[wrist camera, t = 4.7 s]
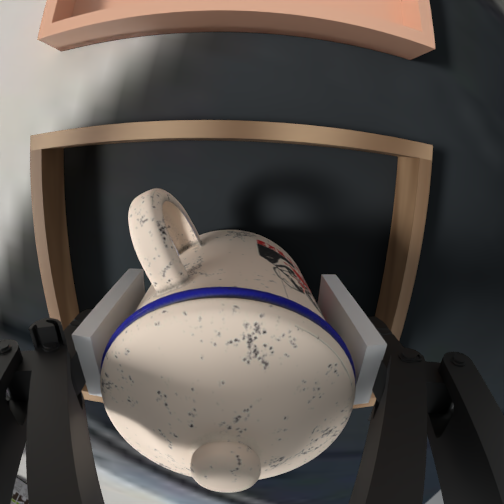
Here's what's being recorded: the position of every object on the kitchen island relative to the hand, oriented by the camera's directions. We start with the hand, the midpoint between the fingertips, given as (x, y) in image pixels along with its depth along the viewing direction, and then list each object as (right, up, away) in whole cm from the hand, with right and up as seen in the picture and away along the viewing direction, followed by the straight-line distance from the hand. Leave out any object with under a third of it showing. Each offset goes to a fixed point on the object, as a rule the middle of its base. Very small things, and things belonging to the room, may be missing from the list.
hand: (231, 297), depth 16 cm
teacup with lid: (-1, +1, +2) cm, 2 cm away
